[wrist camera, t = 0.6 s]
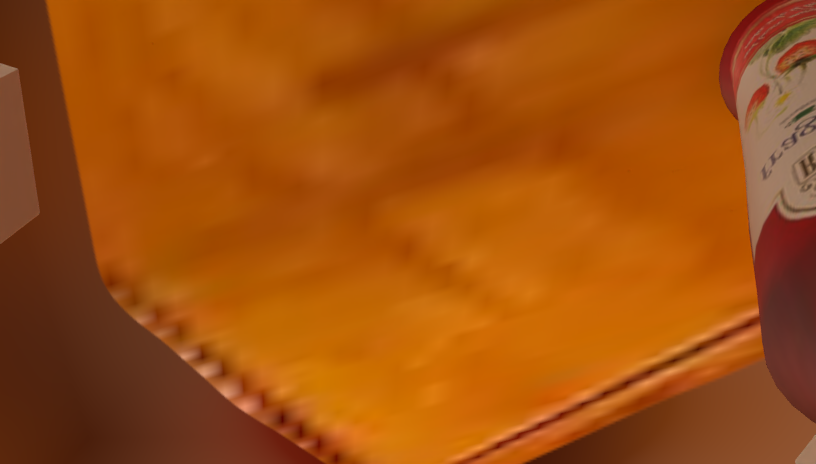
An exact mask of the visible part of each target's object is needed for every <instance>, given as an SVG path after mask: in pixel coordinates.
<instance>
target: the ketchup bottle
mask: <svg viewBox="0 0 816 464" xmlns="http://www.w3.org/2000/svg"><path fill="white" fill-rule="evenodd" d="M719 82H720V88H721V94H722V96H723V98H724V101H725V103H726V105H727V108H728V109H729V110H730V112H731V113H732V114H733V116H734V117H735V118H736V119H737V120H738V121H739V126H740V134H741V141H742V149H743V157H744V164H745V175H746V190H747V204H748V219H749V234H750V241H751V249H752V257H753V264H754V272H755V279H756V287H757V295H758V304H759V314H760V323H761V333H762V342H763V348H764V354H765V360H766V365H767V367H768V369H769V371H770V373H771V376H772V378H773V380H774V382H775V384H776V386H777V387H778V389H779V390H780V391H781V392H782V393H783V395H784V396H785V397H786V398H787V400H788V401H789V402H790V403H791V404H792V405H793V406H794V407H795V408H796V409H798V410H799V411H800V412H801V413H803V414H804V415H805V416H806V417H808V418H809V419H810V420H811V421H813V422H815V423H816V0H766V1H765V2H763V3H762V4H760V5H759V6H757V7H756V8H755V9H754V10H753V11H751V12H750V13H749V14H748V15H747V16H746V17H745V18H744V19H743V20H742V21H741V22H740V24H739V25H738V26H737V28H736V29H735V30H734V32H733V33H732V34H731V36H730V38H729V40H728V42H727V44H726V46H725V48H724V51H723V55H722V59H721V62H720V72H719Z"/></svg>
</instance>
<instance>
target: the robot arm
mask: <svg viewBox="0 0 816 464" xmlns="http://www.w3.org/2000/svg"><path fill="white" fill-rule="evenodd" d="M38 214H40V211H39V204H38V198H37V191H36V185H35V178H34V171H33V165H32V158H31V151H30V145H29V138H28V131H27V125H26V119H25V111H24V105H23V98H22V92H21V85H20V78H19V72H18V69H17V68H14V67H10V66H7V65H3V64H0V244H1V243H2V242H3V241H5V240H6V239H7V238H9V237H10V236H11V235H13V234H14V233H15V232H16V231H18V230H19V229H20V228H22V227H23V226H24V225H26V224H27V223H28V222H29V221H31V220H32V219H33V218H34V217H36V216H37V215H38ZM795 463H796V464H816V435H815V436H814V437H813V439H812V440H811V441H810V442H809V444H808V445H807V446H806V448H805V449H804V450H803V451H802V453H801V454H800V455H799V456H798V458H797V459H796V460H795Z"/></svg>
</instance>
